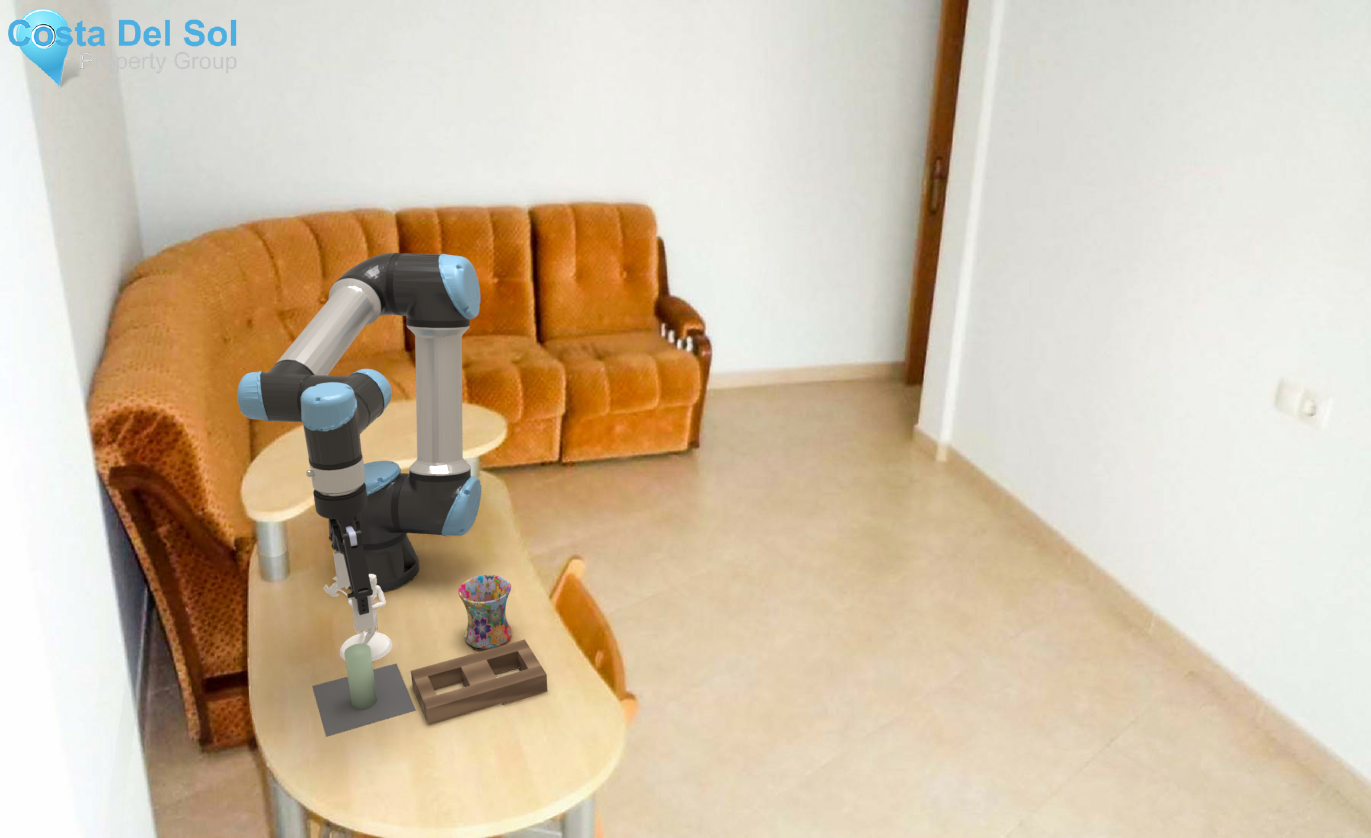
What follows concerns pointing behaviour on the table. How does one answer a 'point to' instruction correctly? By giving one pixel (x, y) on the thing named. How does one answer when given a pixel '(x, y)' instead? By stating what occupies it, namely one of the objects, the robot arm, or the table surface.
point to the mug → (486, 610)
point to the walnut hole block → (478, 681)
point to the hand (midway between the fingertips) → (355, 606)
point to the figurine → (373, 639)
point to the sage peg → (360, 676)
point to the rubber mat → (345, 717)
